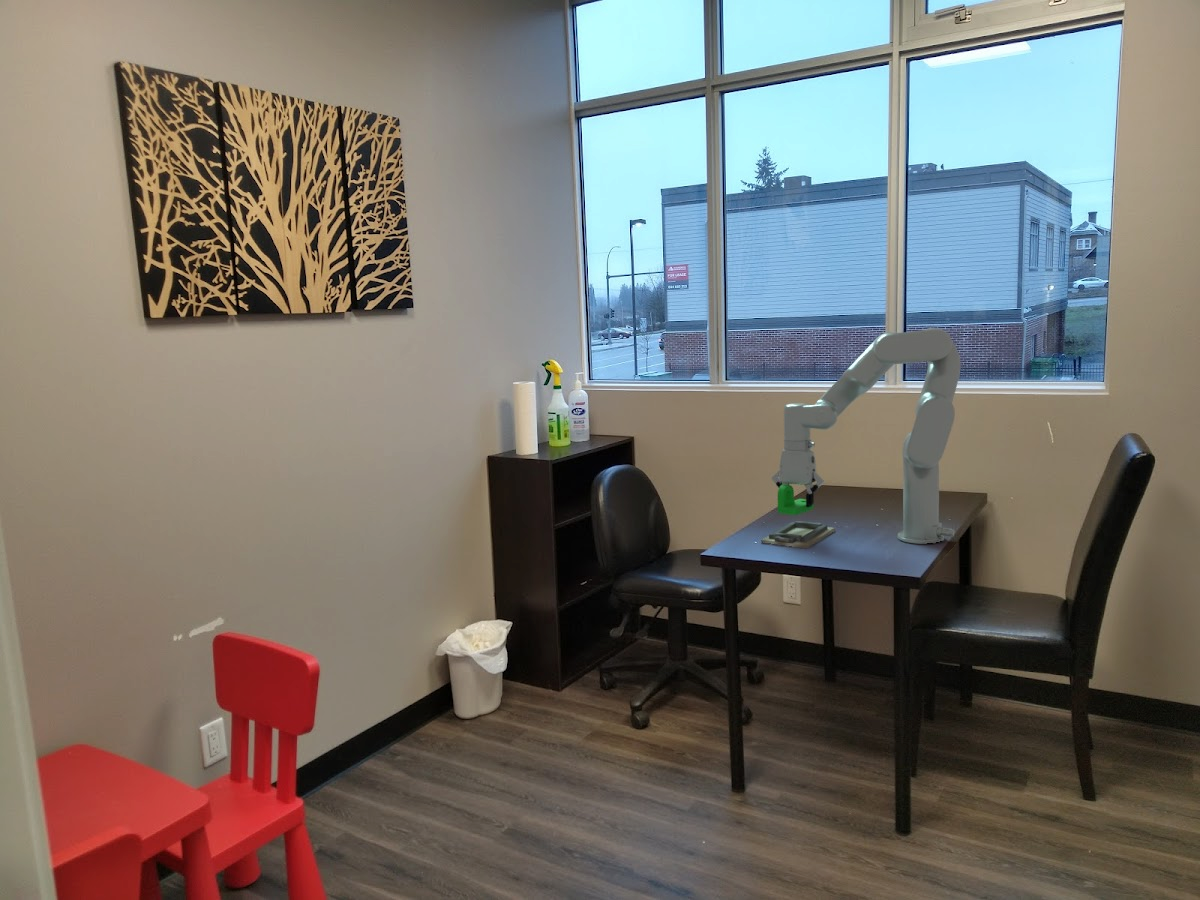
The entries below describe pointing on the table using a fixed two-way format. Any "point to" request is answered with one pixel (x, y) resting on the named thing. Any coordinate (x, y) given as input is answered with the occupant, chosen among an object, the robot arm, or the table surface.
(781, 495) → the mechanical part
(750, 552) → the table surface
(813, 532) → the board
